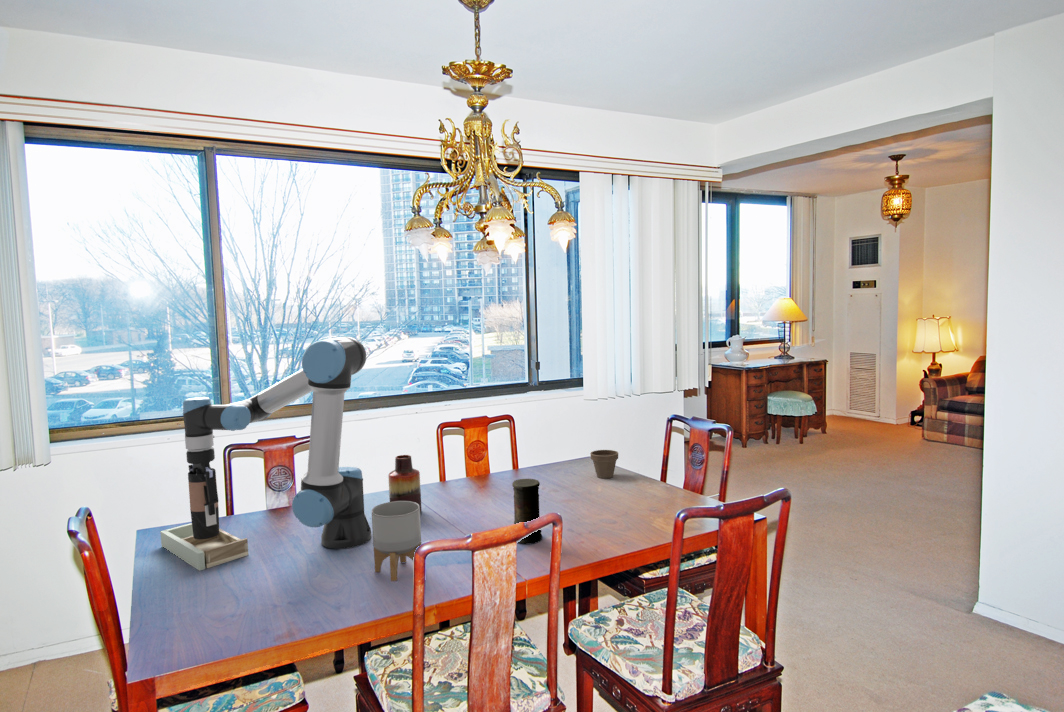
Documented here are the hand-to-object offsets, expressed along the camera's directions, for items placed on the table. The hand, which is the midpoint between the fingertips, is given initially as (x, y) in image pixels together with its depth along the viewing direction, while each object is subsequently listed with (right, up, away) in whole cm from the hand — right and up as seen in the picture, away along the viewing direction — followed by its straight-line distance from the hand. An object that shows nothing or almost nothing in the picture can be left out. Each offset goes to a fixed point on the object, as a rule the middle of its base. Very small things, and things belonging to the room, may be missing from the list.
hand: (205, 521), depth 198 cm
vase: (+56, -5, +29) cm, 63 cm away
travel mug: (0, -4, 0) cm, 4 cm away
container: (+98, -6, +2) cm, 99 cm away
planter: (+63, -9, -18) cm, 66 cm away
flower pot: (+130, +1, +68) cm, 146 cm away
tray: (+3, -9, -2) cm, 10 cm away
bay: (0, -9, +1) cm, 9 cm away
